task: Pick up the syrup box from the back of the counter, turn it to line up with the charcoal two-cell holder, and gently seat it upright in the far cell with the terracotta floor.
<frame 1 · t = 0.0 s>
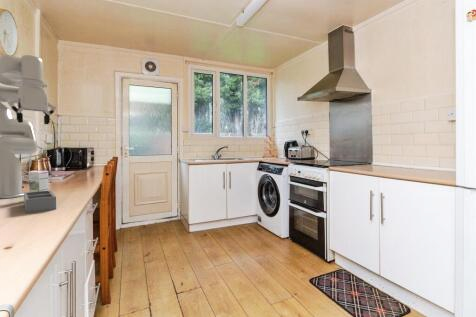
hand: (33, 123, 113), 37 cm above the countertop, tool pointing down, fingers open, 9 cm apart
holder: (39, 206, 112), on the countertop
syrup box: (39, 199, 126), on the countertop
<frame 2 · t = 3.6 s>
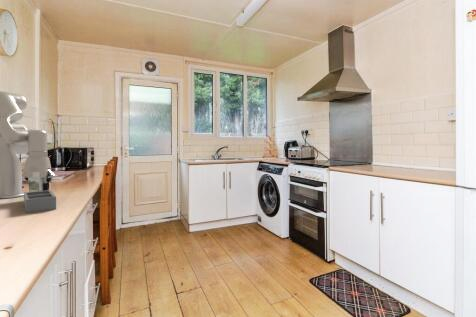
hand: (39, 190, 126), 5 cm above the countertop, tool pointing down, fingers closed on syrup box, 6 cm apart
syrup box: (39, 199, 126), on the countertop, touching gripper
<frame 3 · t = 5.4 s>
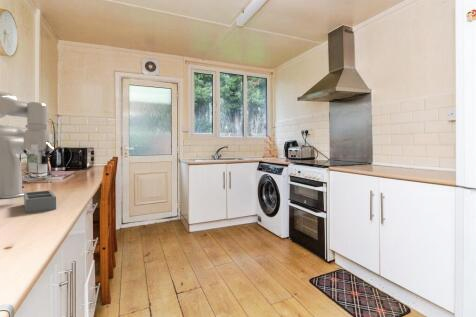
hand: (37, 163, 125), 18 cm above the countertop, tool pointing down, fingers closed on syrup box, 6 cm apart
syrup box: (37, 173, 126), point 13 cm above the countertop, touching gripper
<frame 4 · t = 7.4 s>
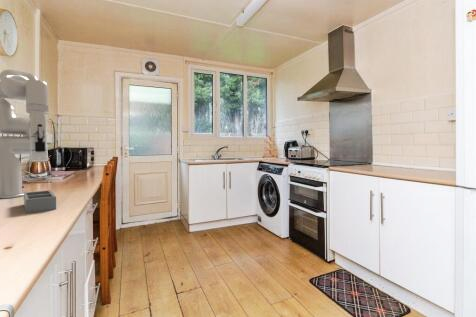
hand: (38, 150, 109), 25 cm above the countertop, tool pointing down, fingers closed on syrup box, 6 cm apart
syrup box: (39, 161, 109), point 20 cm above the countertop, touching gripper
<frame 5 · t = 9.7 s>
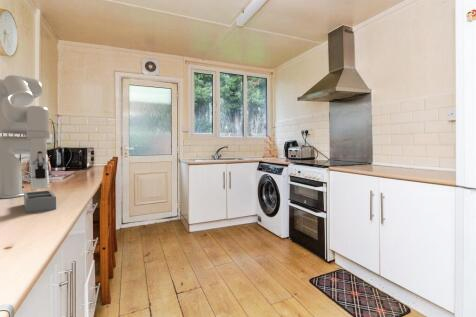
hand: (39, 177, 107), 14 cm above the countertop, tool pointing down, fingers closed on syrup box, 6 cm apart
syrup box: (40, 188, 108), point 9 cm above the countertop, touching gripper
when the fingers open (7 cm above the countertop, at t = 11.5 s): syrup box drops 1 cm, resting on holder.
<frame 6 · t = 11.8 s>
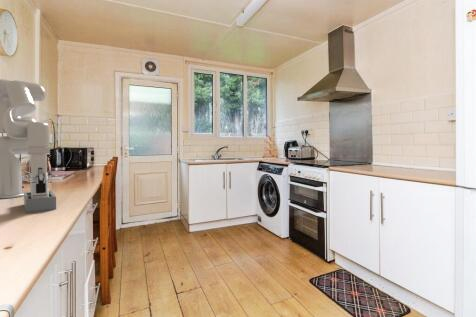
hand: (40, 191, 108), 8 cm above the countertop, tool pointing down, fingers open, 8 cm apart
syrup box: (40, 206, 108), point 1 cm above the countertop, touching holder
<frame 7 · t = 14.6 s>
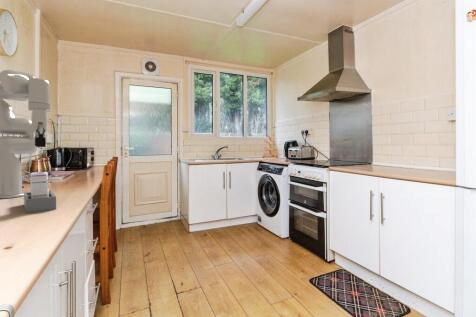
hand: (40, 146, 111), 27 cm above the countertop, tool pointing down, fingers open, 9 cm apart
nothing on the countertop moved.
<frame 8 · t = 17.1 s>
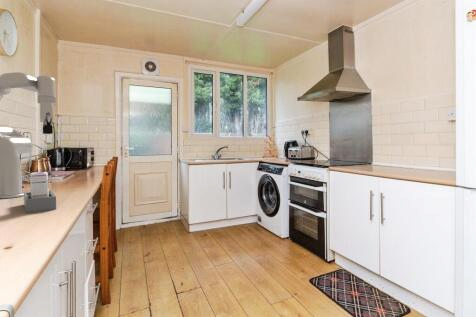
hand: (47, 133, 131), 33 cm above the countertop, tool pointing down, fingers open, 9 cm apart
nothing on the countertop moved.
at the end: syrup box 0.2 cm from the target spot on the holder, point 1.0 cm above the holder's base; syrup box tilted 0°; the gripper is holding nothing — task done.
